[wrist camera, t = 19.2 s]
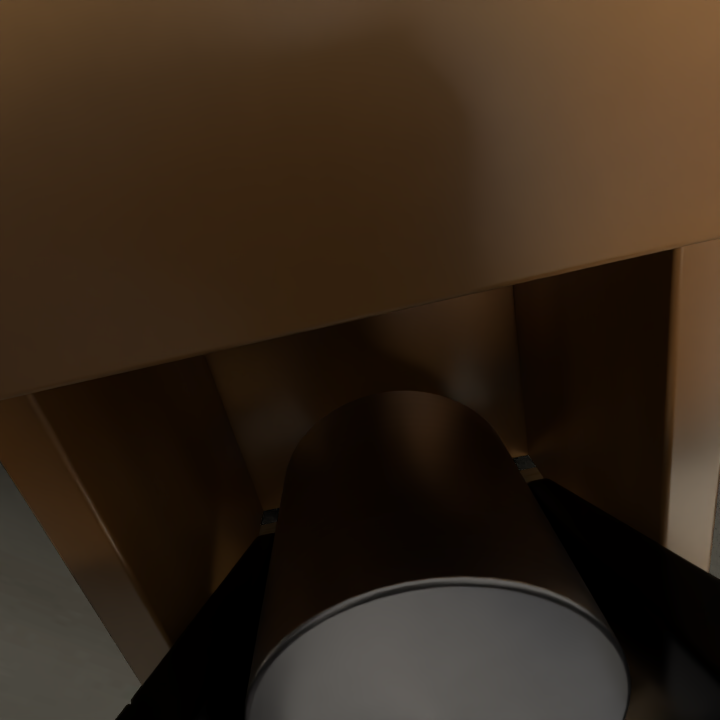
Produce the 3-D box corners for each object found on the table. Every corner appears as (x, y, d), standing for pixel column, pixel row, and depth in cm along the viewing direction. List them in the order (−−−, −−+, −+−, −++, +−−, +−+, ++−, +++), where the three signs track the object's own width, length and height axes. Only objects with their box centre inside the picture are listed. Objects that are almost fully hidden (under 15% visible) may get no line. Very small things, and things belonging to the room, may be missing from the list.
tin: (519, 552, 11) (631, 797, 7) (316, 591, 11) (300, 851, 7) (499, 365, 9) (638, 541, 5) (254, 416, 9) (183, 628, 5)
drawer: (571, 595, 16) (718, 858, 10) (286, 652, 17) (260, 941, 11) (540, -37, 9) (954, -435, 3) (48, 85, 10) (-460, -54, 4)
